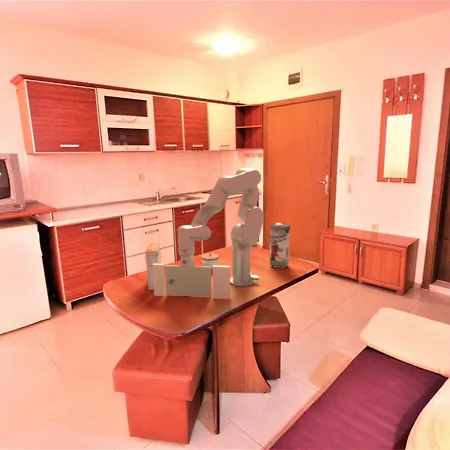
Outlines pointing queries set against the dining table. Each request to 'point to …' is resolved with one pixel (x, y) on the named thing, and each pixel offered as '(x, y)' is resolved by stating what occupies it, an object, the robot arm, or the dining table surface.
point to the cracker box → (152, 262)
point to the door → (188, 280)
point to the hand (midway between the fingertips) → (187, 286)
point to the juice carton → (279, 245)
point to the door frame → (219, 281)
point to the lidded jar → (210, 259)
